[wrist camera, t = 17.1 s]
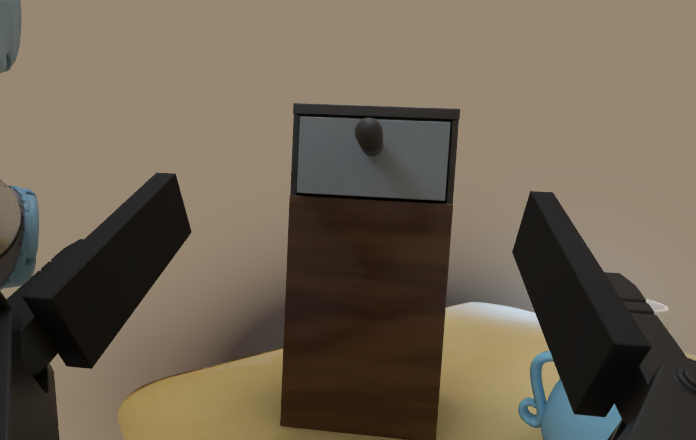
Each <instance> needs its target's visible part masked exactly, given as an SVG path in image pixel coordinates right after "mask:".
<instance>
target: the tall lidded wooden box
mask: <svg viewBox="0 0 696 440" xmlns="http://www.w3.org/2000/svg"><path fill="white" fill-rule="evenodd" d="M293 106H294V107H293V114H294V123H293V125H294V126H293V148H292V172H291V195H290V203H289V227H288V251H287V274H286V275H287V277H286V298H285V299H286V300H285V322H284V346H283V370H282V395H281V419H280V425H281V426H291V427H300V428H309V429H319V430H328V431H337V432H347V433H356V434H366V435H375V436H384V437H394V438H403V439H412V440H436V430H437V416H438V403H439V389H440V376H441V362H442V348H443V335H444V321H445V307H446V294H447V293H446V292H447V279H448V266H449V252H450V239H451V225H452V212H453V192H454V178H455V164H456V149H457V137H458V123H459V122H458V120H459V117H460V109H446V108H417V107H388V106H387V107H386V106H359V105H329V104H301V103H294V105H293ZM300 117H325V118H352V119H364V118H373V119H379V120H405V121H432V122H450V136H449V150H448V164H447V178H446V192H445V201H439V200H421V199H402V198H384V197H366V196H347V195H329V194H311V193H297V175H298V152H299V128H300Z"/></svg>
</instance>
